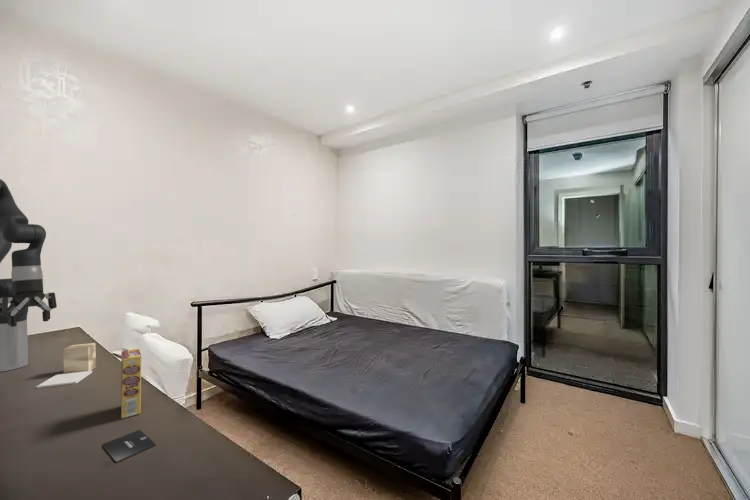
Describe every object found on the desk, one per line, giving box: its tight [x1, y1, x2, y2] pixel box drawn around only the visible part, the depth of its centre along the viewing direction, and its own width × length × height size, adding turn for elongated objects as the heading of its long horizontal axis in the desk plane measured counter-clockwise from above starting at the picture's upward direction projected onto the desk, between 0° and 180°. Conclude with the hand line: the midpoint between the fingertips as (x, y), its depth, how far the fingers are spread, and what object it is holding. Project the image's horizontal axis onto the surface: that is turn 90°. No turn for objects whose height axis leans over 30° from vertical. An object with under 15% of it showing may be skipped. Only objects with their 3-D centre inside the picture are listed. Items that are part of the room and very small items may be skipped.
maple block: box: [62, 342, 97, 374], centre depth 113 cm, size 5×7×9 cm
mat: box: [35, 370, 93, 389], centre depth 105 cm, size 10×10×1 cm
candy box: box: [120, 348, 142, 419], centre depth 85 cm, size 9×4×15 cm, turn 39°
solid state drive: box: [101, 429, 156, 464], centre depth 69 cm, size 7×10×1 cm
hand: (30, 323), depth 113 cm, fingers open, 8 cm apart
